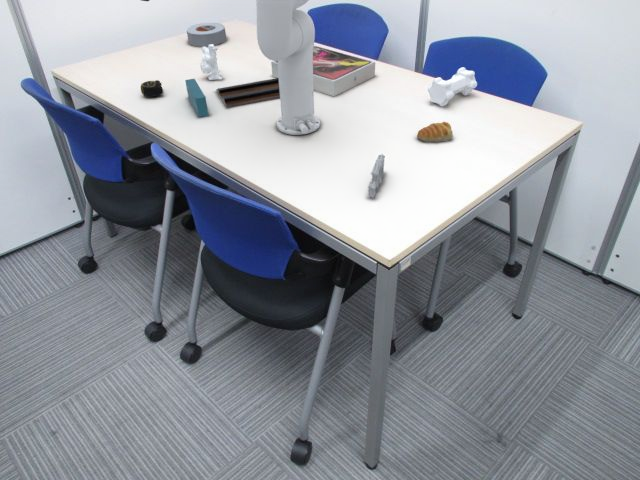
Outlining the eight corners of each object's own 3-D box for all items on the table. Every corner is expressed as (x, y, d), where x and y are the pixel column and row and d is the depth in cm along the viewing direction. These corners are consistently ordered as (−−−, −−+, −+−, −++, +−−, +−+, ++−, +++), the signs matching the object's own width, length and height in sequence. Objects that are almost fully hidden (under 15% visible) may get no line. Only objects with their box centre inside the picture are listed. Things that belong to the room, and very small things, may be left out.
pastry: (423, 145, 144) (424, 132, 141) (412, 135, 149) (413, 122, 146) (454, 139, 146) (456, 127, 143) (442, 129, 151) (443, 117, 149)
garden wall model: (374, 199, 124) (375, 177, 121) (367, 198, 125) (367, 176, 121) (384, 173, 133) (386, 152, 130) (377, 172, 134) (378, 151, 130)
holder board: (293, 95, 172) (292, 89, 171) (227, 108, 166) (226, 101, 165) (279, 80, 182) (279, 74, 181) (216, 91, 176) (215, 85, 175)
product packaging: (314, 58, 198) (313, 45, 195) (374, 76, 183) (375, 61, 180) (272, 76, 186) (271, 61, 183) (333, 96, 171) (333, 81, 168)
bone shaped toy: (454, 88, 173) (458, 63, 168) (476, 96, 168) (481, 71, 163) (424, 102, 166) (427, 76, 161) (446, 110, 160) (450, 84, 155)
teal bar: (208, 115, 162) (205, 96, 158) (198, 117, 161) (195, 98, 157) (197, 96, 174) (194, 78, 170) (188, 97, 173) (185, 80, 169)
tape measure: (164, 97, 174) (162, 86, 172) (143, 100, 172) (140, 89, 170) (162, 89, 179) (160, 78, 177) (141, 92, 177) (139, 81, 175)
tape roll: (183, 46, 213) (180, 33, 210) (196, 34, 225) (194, 21, 221) (219, 47, 211) (218, 34, 207) (231, 35, 222) (229, 22, 219)
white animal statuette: (228, 78, 185) (223, 43, 177) (211, 84, 181) (206, 48, 174) (216, 72, 190) (210, 38, 182) (199, 77, 186) (193, 42, 179)
